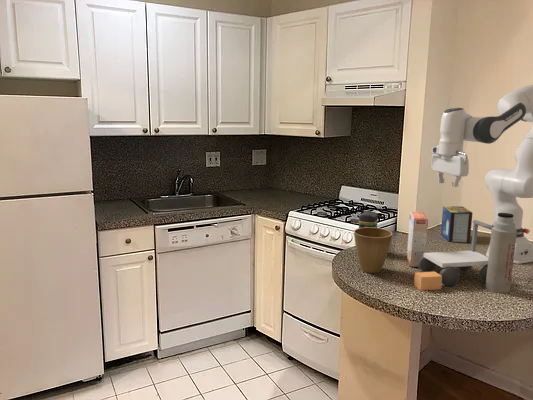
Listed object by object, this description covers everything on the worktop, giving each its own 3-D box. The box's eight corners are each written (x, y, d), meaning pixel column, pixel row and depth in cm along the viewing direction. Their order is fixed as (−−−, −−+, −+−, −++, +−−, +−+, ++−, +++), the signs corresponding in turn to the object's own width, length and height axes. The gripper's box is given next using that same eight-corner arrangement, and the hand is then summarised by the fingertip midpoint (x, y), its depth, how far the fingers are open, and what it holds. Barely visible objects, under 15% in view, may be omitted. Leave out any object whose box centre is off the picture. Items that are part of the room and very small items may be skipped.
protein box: (460, 235, 239) (463, 206, 237) (470, 243, 224) (473, 212, 222) (440, 234, 241) (442, 205, 238) (448, 242, 226) (450, 211, 223)
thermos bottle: (514, 291, 163) (524, 215, 158) (499, 294, 160) (507, 217, 155) (495, 283, 170) (504, 210, 165) (480, 286, 167) (488, 212, 162)
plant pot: (349, 263, 191) (351, 226, 188) (385, 264, 191) (387, 227, 188) (355, 276, 177) (357, 236, 174) (393, 277, 176) (396, 237, 173)
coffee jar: (360, 247, 214) (362, 209, 211) (377, 250, 211) (379, 211, 207) (355, 253, 206) (357, 213, 202) (372, 255, 202) (374, 215, 199)
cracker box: (424, 268, 187) (428, 218, 183) (409, 267, 188) (413, 217, 184) (420, 258, 200) (424, 211, 196) (406, 257, 201) (409, 210, 197)
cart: (470, 268, 187) (475, 218, 184) (498, 282, 171) (504, 228, 167) (417, 271, 183) (421, 220, 179) (441, 287, 166) (446, 231, 162)
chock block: (433, 284, 170) (434, 271, 169) (441, 289, 165) (442, 276, 164) (413, 285, 168) (414, 272, 167) (420, 290, 163) (421, 277, 162)
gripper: (474, 152, 169) (471, 188, 171) (443, 148, 189) (440, 180, 191) (459, 152, 168) (456, 189, 170) (429, 148, 187) (427, 181, 190)
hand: (447, 184), depth 181 cm, fingers open, 8 cm apart
